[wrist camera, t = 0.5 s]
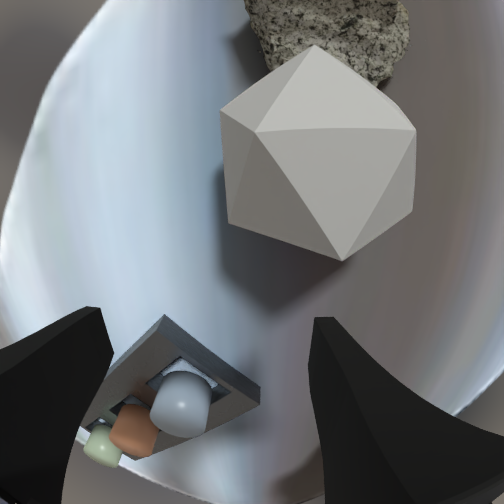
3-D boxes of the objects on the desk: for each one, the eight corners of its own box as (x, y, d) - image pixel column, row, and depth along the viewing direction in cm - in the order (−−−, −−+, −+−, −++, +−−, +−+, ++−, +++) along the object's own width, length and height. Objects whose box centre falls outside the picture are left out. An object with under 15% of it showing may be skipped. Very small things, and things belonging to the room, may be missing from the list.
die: (327, 240, 19) (470, 246, 10) (194, 258, 15) (331, 290, 6) (314, 116, 18) (441, 66, 9) (184, 101, 14) (287, -22, 5)
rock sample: (230, 131, 12) (307, -51, 5) (204, 52, 15) (245, -69, 7) (389, 146, 16) (473, 50, 9) (339, 74, 19) (393, -11, 11)
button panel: (164, 314, 21) (156, 330, 19) (260, 386, 23) (259, 404, 21) (72, 404, 27) (66, 415, 25) (139, 448, 29) (135, 460, 27)
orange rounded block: (132, 398, 22) (120, 428, 19) (168, 422, 23) (160, 452, 19) (114, 411, 23) (102, 438, 20) (147, 433, 24) (138, 460, 21)
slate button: (181, 362, 20) (169, 398, 16) (222, 391, 21) (217, 427, 17) (152, 384, 21) (139, 416, 18) (191, 410, 22) (183, 442, 18)
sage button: (101, 420, 24) (90, 444, 21) (132, 440, 25) (123, 465, 22) (89, 428, 25) (78, 450, 22) (117, 447, 26) (109, 469, 23)
